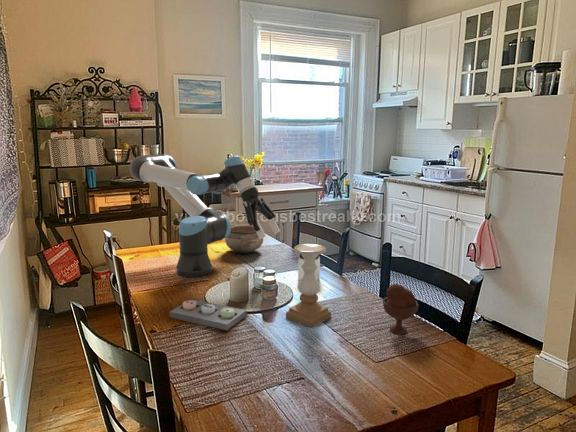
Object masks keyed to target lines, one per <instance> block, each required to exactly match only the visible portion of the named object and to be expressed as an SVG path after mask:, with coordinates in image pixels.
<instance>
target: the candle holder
mask: <svg viewBox="0 0 576 432" xmlns="http://www.w3.org/2000/svg"><path fill="white" fill-rule="evenodd" d="M326 249H327V248H326V247H325V246H324V245H320V244H315V243H303V244H301V243H300V244H297V245H295V246H294V247H293V250H294V252H295V253H296V254H302V256H303V258H304V263H303V265H302V269H303V271H304V276H303V278H302V279H301V280H299V283H298V285H297V290H298V292H299V293H301V294H300V295H299V302H298V303H296V304H295V305H293V306H291V307H289V309H288V311H286V312H285V318H286V319H289V320H291V321H294V322H295V323H298V324H301V325H303V326H306V327H308V328H312V327H314V326H316V325H319V324H321V323H323V322H325V321H327V320H329V319H330V318H332V312H331V311H329V308H328V307H327V306H324V305H322V304H320V303H319V302H318V300H319V296H318V293H319V292H320V290H321V285H320V282H319V279H318V280H317V279H316V277H315V274H314V273H315V271H316V269H317V268H318V267H317V265H316V263H315V259H316V257H317V256H318V254H319V255H323V254H324V253H325V252H326V251H327V250H326Z"/></svg>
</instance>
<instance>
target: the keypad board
mask: <svg viewBox="0 0 576 432" xmlns="http://www.w3.org/2000/svg"><path fill="white" fill-rule="evenodd" d="M190 300H193V301H196V308H195V309H194V310H192V311H189V310H184V309H183V303H181V305H179V306H177V307H176V308H173V309H172V310H170V311H169V318H172V319H175V320H180V321H185V322H189V323H192V324H193V323H194V324H197V325H202V326H206V327H211V328H214V329H219V330H224V331H228V330H230V329H231V328H232V327H234V326H235V325H236V324H238V323H239V322H240V321H242V320H243V319H244V318H246V317H247V310H246V309H241V308H238V307H232V306H229V305H228V306H227V305H223V304H217V303H213V302H209V301H208V302H207V301H204V300H199V299H198V300H196V299H193V298H192V299H190ZM205 304H213V305H215V312H214V313H213V314H211V315H207V314H203V313H202V311H201V307H202V306H203V305H205ZM224 308H232V309H234V310H235V316H234V317H233V318H232V319H226V318H221V310H222V309H224Z"/></svg>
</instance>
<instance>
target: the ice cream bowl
mask: <svg viewBox="0 0 576 432" xmlns="http://www.w3.org/2000/svg"><path fill="white" fill-rule="evenodd" d="M386 295H387V296H385V297H383V298H382V305H383V311H384V312H385V313H386V314H387V315H388V316H390V317H391V318H392V319H395V321H396V322H395V323H396V324H395V325H392V326H390V327H389V332H390V333H392V334H394V335H398V336H402V335H403V336H405V335H407V333H408V329H407V328H406V327H405V326H404V325H402V324H403V320H407V319H409V318H411V317H413V316H415V314H416V313H417V312H418V310H419V306H420V305H419V302H418V301H417V300H416V297H415V295H414V293H413V292H412V290H410V289H408V288H406V287H404V286H403V285H402V284H399V283H393V284H391V285H389V287H388V288H387V290H386Z"/></svg>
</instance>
